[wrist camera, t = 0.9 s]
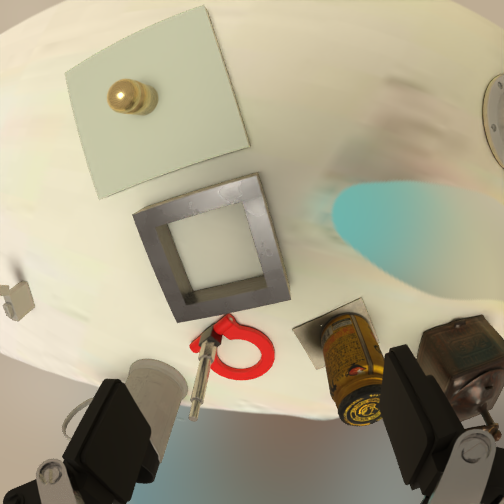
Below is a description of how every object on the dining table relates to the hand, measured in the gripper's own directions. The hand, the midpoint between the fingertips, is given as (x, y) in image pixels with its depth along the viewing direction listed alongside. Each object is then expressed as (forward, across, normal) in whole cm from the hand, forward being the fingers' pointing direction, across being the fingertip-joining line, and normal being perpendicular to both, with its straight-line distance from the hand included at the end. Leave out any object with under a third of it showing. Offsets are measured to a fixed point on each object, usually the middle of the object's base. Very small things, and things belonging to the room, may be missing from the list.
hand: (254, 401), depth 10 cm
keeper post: (+20, +8, -15) cm, 26 cm away
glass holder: (+23, +20, +19) cm, 36 cm away
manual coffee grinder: (+21, -21, +21) cm, 36 cm away
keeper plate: (+22, +8, -15) cm, 27 cm away
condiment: (+22, -7, +14) cm, 27 cm away
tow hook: (+22, +5, +14) cm, 27 cm away
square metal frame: (+22, +4, +1) cm, 22 cm away
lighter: (+23, +34, +2) cm, 42 cm away
